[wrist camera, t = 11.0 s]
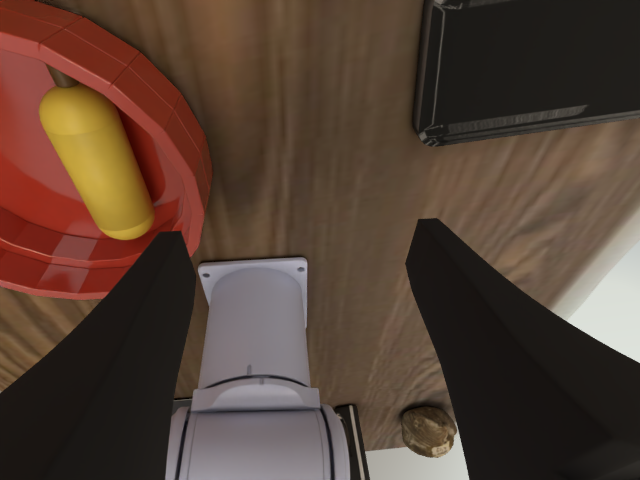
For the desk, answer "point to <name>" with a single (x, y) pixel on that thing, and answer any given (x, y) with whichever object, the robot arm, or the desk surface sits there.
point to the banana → (97, 156)
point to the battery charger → (354, 442)
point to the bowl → (53, 179)
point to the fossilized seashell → (428, 431)
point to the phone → (524, 67)
